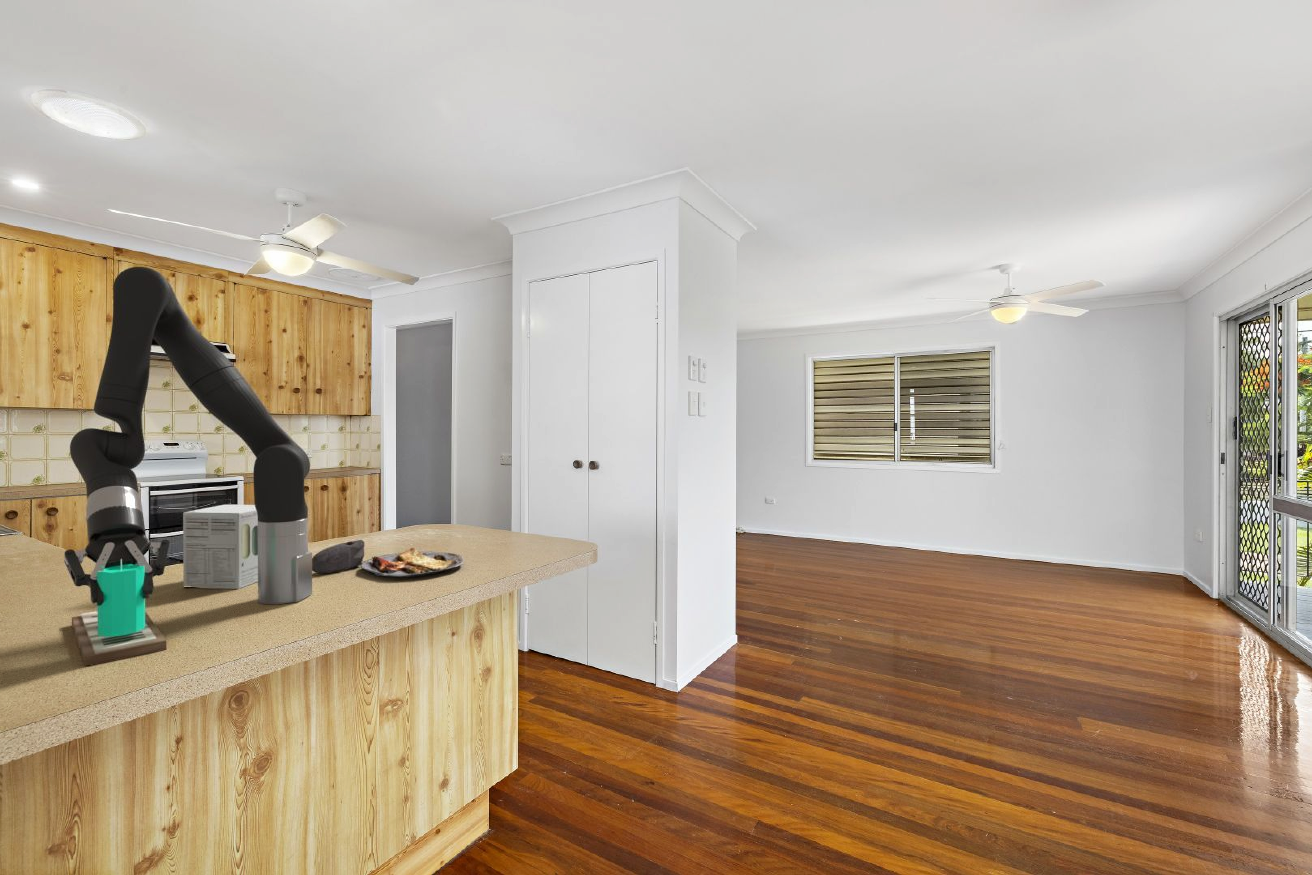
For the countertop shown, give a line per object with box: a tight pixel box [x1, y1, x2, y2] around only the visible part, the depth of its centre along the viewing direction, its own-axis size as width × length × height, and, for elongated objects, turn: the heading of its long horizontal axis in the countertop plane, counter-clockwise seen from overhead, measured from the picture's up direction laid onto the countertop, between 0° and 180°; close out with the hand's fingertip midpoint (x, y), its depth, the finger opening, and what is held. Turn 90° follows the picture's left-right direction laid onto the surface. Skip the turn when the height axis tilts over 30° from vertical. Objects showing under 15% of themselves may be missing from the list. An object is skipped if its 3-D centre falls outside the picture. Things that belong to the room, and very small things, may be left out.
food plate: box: [359, 547, 465, 578], centre depth 159 cm, size 25×23×4 cm
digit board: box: [71, 610, 168, 667], centre depth 108 cm, size 27×10×2 cm, turn 47°
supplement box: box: [182, 504, 258, 590], centre depth 145 cm, size 13×13×18 cm
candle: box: [97, 559, 146, 637], centre depth 102 cm, size 6×6×12 cm
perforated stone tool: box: [312, 539, 365, 575], centre depth 156 cm, size 15×5×7 cm, turn 149°
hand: (123, 598), depth 100 cm, fingers closed on candle, 5 cm apart
